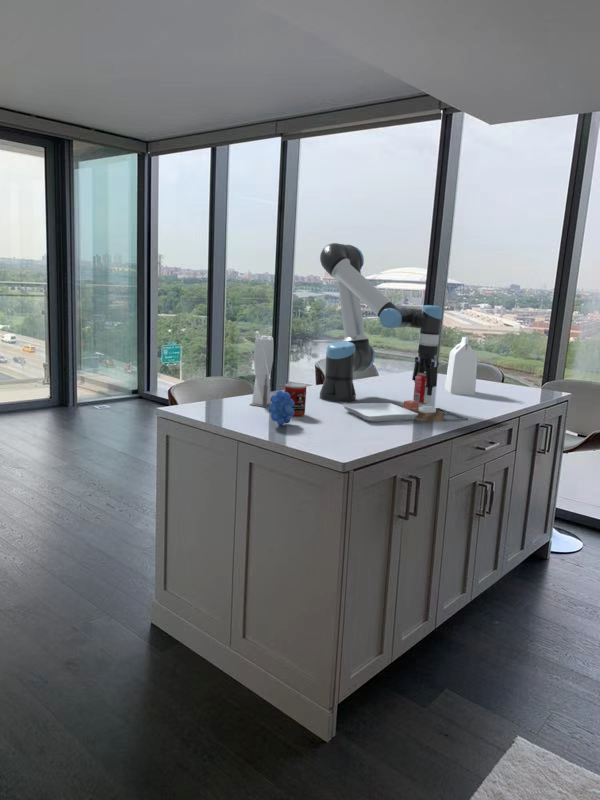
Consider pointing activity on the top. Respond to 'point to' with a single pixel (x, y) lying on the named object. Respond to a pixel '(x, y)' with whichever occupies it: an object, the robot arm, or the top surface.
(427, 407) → the dome
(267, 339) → the skyscraper
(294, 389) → the canned food
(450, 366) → the milk
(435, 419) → the base
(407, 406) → the die
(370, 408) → the salad plate
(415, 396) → the soda can
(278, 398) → the grapes
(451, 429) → the top surface
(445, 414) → the track
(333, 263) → the robot arm
